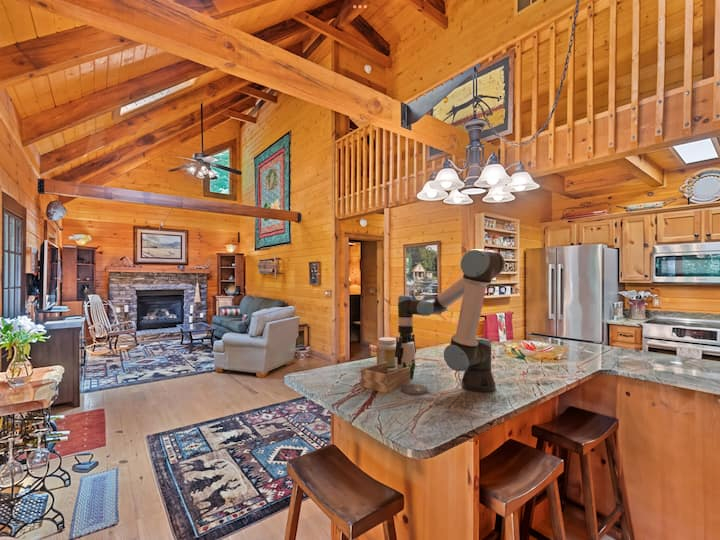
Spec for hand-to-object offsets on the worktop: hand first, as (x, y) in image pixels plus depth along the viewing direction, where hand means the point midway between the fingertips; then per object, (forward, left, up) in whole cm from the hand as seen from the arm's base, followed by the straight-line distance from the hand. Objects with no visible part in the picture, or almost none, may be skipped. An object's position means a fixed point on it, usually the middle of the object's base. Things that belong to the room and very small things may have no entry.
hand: (405, 368), depth 181 cm
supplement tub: (+17, -7, -5) cm, 19 cm away
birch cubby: (0, +17, -4) cm, 17 cm away
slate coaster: (-15, +15, -4) cm, 22 cm away
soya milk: (0, 0, -5) cm, 5 cm away
